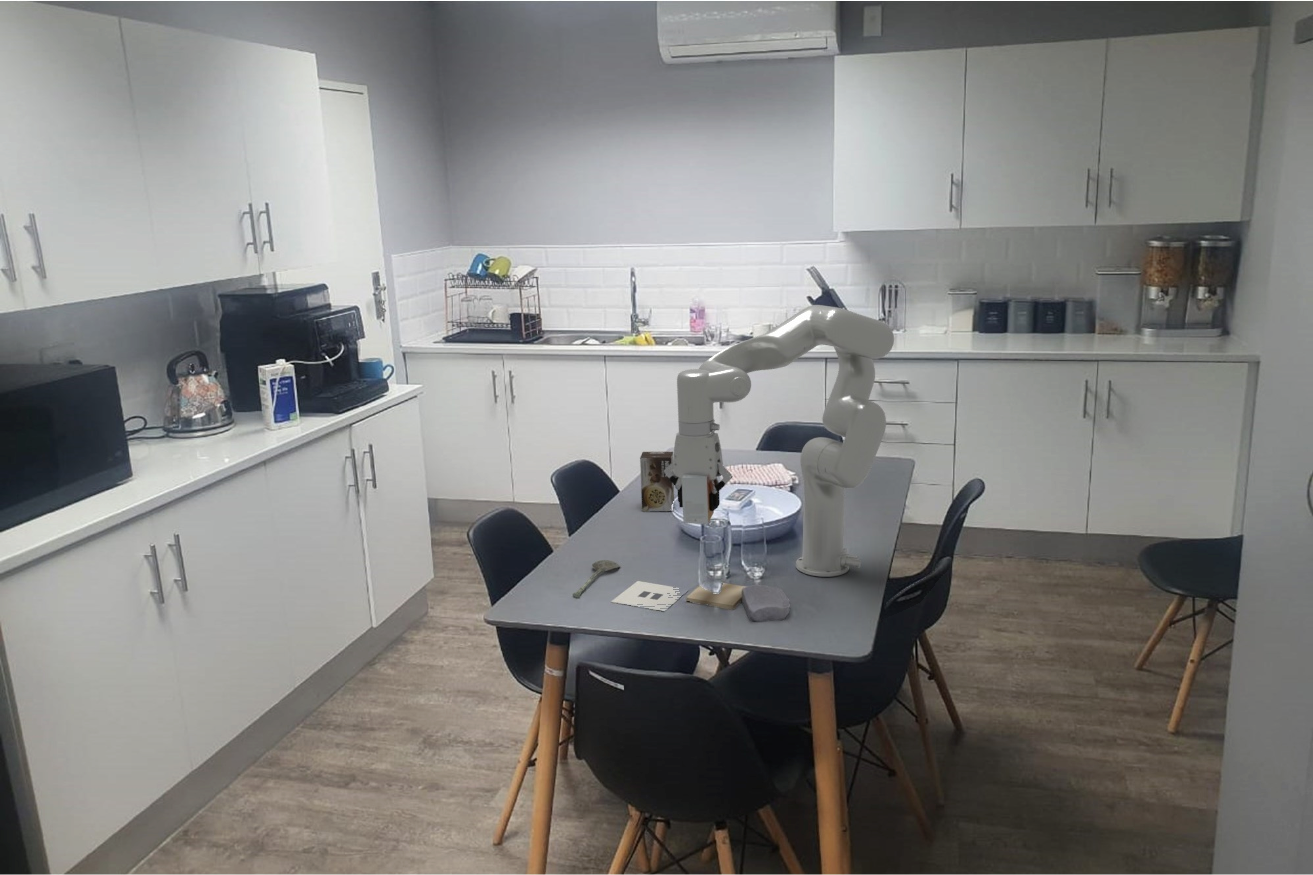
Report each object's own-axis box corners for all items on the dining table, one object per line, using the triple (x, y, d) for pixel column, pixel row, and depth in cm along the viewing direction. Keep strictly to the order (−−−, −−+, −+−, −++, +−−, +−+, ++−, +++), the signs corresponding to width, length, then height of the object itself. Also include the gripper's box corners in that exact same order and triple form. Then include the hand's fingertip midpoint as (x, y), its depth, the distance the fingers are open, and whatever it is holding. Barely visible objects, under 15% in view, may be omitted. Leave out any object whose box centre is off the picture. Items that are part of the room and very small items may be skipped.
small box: (708, 524, 211) (707, 477, 208) (682, 523, 212) (681, 477, 209) (714, 512, 218) (713, 467, 216) (689, 511, 220) (688, 466, 217)
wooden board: (750, 591, 221) (750, 587, 221) (732, 609, 212) (732, 605, 212) (705, 584, 226) (705, 579, 226) (686, 601, 217) (686, 597, 216)
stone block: (780, 606, 218) (736, 600, 217) (785, 586, 217) (741, 580, 216) (792, 630, 207) (746, 624, 206) (797, 610, 206) (751, 603, 204)
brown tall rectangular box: (674, 505, 284) (674, 451, 280) (673, 512, 278) (672, 457, 274) (643, 504, 285) (642, 450, 281) (640, 511, 279) (639, 456, 275)
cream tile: (689, 590, 223) (689, 589, 223) (664, 612, 211) (664, 611, 211) (637, 581, 228) (637, 580, 228) (611, 602, 217) (611, 601, 217)
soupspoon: (624, 569, 239) (599, 567, 241) (623, 556, 238) (598, 554, 241) (589, 600, 219) (562, 598, 221) (588, 586, 218) (561, 584, 220)
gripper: (740, 426, 209) (742, 506, 214) (667, 420, 217) (670, 498, 222) (727, 435, 203) (728, 517, 207) (652, 428, 211) (655, 508, 215)
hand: (698, 506), depth 215 cm, fingers closed on small box, 6 cm apart
